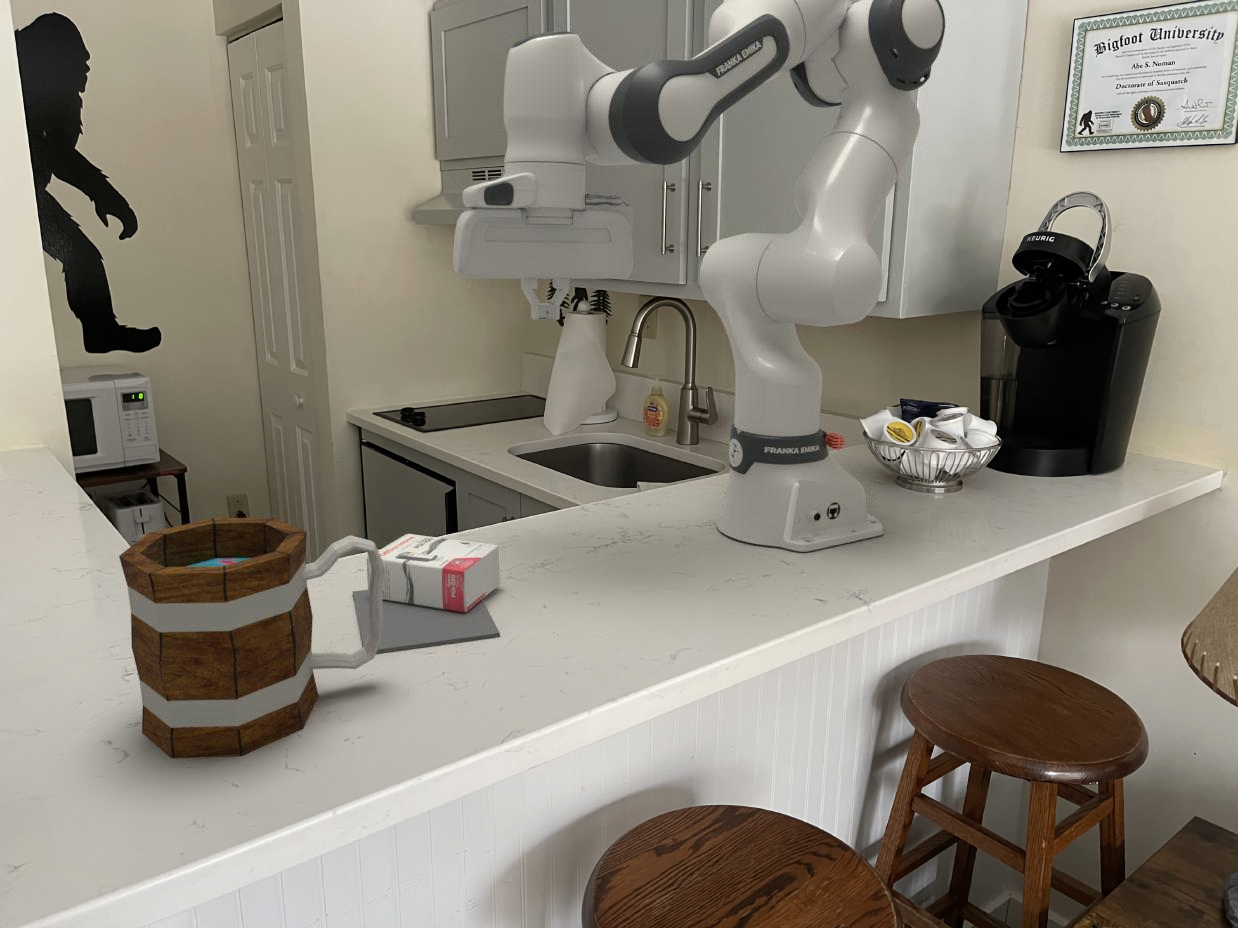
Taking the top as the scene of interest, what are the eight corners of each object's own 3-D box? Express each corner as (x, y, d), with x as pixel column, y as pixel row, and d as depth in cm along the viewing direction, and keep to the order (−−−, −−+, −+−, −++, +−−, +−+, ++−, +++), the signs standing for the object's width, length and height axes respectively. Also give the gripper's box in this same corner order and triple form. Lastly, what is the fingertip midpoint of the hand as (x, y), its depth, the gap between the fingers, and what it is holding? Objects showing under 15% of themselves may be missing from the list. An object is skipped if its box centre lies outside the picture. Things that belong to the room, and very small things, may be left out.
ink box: (463, 568, 91) (362, 557, 95) (466, 614, 93) (366, 601, 96) (500, 541, 99) (405, 532, 103) (502, 583, 101) (409, 573, 104)
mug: (141, 778, 66) (116, 588, 62) (142, 694, 77) (120, 528, 73) (409, 717, 74) (401, 547, 70) (373, 650, 86) (365, 500, 82)
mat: (470, 581, 103) (470, 577, 102) (499, 636, 89) (499, 632, 89) (352, 594, 98) (352, 591, 98) (364, 655, 85) (364, 651, 85)
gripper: (624, 196, 105) (621, 315, 108) (448, 190, 98) (451, 318, 102) (643, 195, 99) (640, 321, 103) (458, 189, 92) (462, 324, 96)
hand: (545, 319), depth 102 cm, fingers closed
